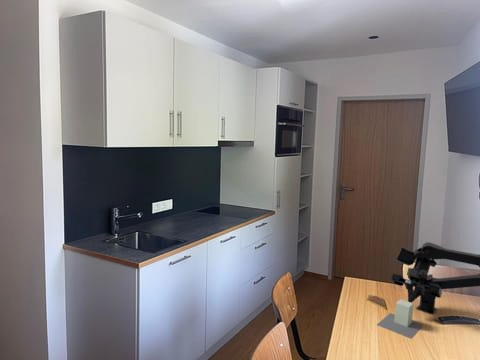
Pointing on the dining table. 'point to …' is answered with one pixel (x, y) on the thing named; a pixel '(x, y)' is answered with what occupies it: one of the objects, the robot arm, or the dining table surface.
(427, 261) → the robot arm
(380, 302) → the shard
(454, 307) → the dining table surface
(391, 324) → the rubber mat
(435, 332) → the dining table surface
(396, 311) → the sage block
